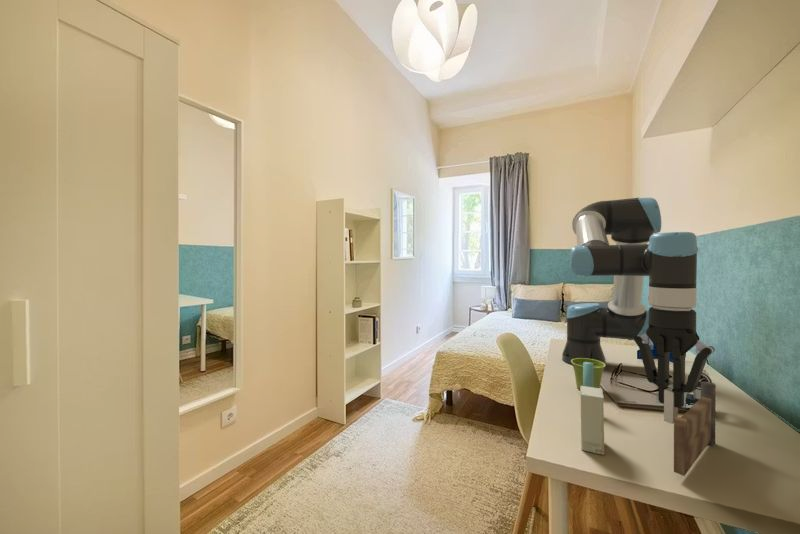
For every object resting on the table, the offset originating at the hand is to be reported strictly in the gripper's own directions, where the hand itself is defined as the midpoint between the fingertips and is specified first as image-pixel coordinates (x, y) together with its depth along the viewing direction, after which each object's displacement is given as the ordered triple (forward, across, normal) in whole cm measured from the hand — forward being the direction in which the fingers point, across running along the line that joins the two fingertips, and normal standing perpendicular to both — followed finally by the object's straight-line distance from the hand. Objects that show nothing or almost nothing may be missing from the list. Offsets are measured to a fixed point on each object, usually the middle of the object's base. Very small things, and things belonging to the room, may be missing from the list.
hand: (670, 420), depth 67 cm
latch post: (+8, +20, -7) cm, 22 cm away
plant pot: (+8, +28, -21) cm, 36 cm away
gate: (+7, -3, -3) cm, 8 cm away
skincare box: (+8, +11, +10) cm, 17 cm away
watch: (+8, +3, -32) cm, 33 cm away
